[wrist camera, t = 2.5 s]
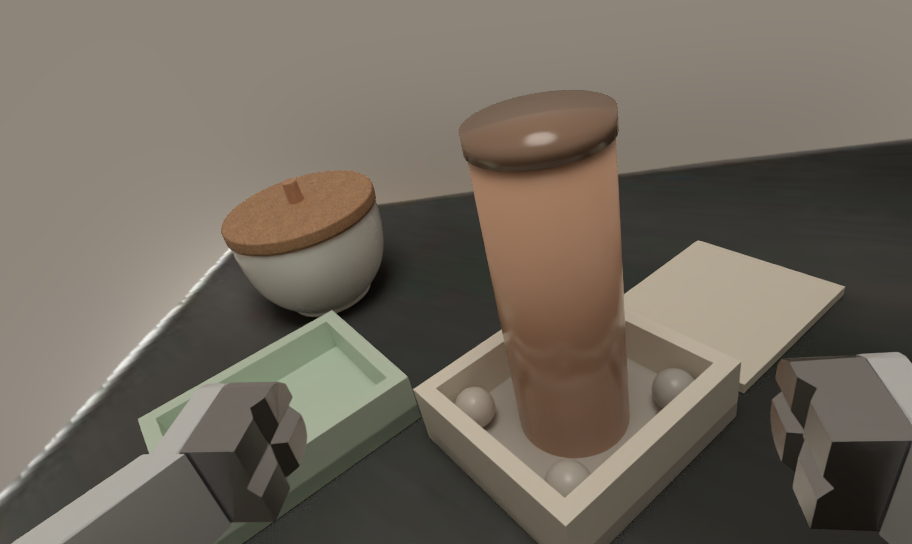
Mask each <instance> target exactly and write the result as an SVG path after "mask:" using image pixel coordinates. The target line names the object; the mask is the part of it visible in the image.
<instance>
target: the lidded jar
mask: <svg viewBox="0 0 912 544" xmlns="http://www.w3.org/2000/svg"><path fill="white" fill-rule="evenodd" d="M375 199H376V196H375V191H374V187H373V184H372V182H371V181H370V179H369V178H367V177H366V176H365V175H363V174H360V173H356V172H353V171H326V172H319V173H313V174H308V175H304V176H300V177H296V178H291V179H287V180H285V181H283V182H281V183H279V184H276V185H273V186H271V187H269V188H267V189H265V190H263V191H261V192H259V193H257V194H255V195H253V196H252V197H250V198H248V199H247V200H245V201H244V202H242V203H241V204H239V205H238V206H237V207H236V208H235V209H233V210H232V211H231V212H230V213H229V214H228V215H227V217H226V218H225V220H224V222H223V224H222V228H221V233H222V236H223V238H224V240H225V242H226V244H227V246H228V247H229V248H230V249H231V250H232V252H233V254H234V256H235V258H236V260H237V262H238V264H239V266H240V267H241V269H242V271H243V272H244V274H245V275H246V277H247V278H248V280H249V281H250V282H251V283H252V285H253V286H254V287H255V288H256V289H257V290H258V291H259V292H260V293H261V294H262V295H263V296H264V297H265V298H267V299H268V300H269V301H271V302H273V303H275V304H276V305H278V306H280V307H282V308H285V309H288V310H292V311H296V312H297V313H299V314H301V315H303V316H307V317H321V316H323V315H324V314H326V313H328V312H330V311H331V310H332V311H334V312H335V313H339V312H341V311H344V310H346V309H348V308H350V307H351V306H353V305H355V304H356V303H357V302H359V301H360V300H361V299H362V298H363V297H364V296H365V295H366V294H367V292H368V291H369V289H370V286H371V282H372V281H373V279H374V278H375V276H376V274H377V272H378V270H379V267H380V264H381V261H382V256H383V248H384V238H383V229H382V223H381V217H380V213H379V210H378V206H377V203H376V200H375Z"/></svg>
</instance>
